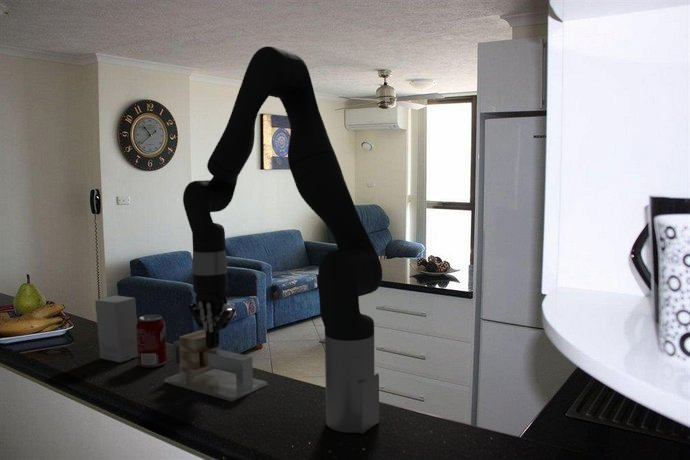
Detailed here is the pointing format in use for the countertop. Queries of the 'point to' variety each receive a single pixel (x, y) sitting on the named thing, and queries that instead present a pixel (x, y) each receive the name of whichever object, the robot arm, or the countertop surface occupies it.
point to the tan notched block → (193, 353)
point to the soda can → (151, 341)
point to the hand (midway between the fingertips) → (212, 347)
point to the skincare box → (117, 328)
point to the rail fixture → (219, 374)
